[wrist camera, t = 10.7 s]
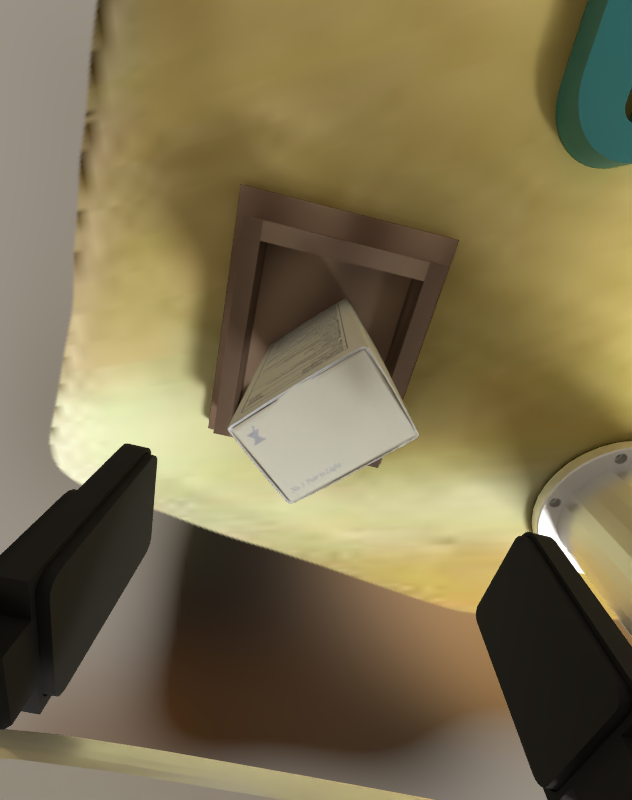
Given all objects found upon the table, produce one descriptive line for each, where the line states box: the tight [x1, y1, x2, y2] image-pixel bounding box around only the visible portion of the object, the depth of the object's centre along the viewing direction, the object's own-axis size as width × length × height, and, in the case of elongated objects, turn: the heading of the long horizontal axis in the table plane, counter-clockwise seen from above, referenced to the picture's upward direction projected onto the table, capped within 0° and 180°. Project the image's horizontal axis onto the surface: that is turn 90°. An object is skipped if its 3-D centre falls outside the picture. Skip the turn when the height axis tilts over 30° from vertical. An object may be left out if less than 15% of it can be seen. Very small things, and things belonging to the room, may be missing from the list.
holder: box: [208, 184, 459, 468], centre depth 25 cm, size 13×16×4 cm
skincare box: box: [227, 299, 419, 504], centre depth 20 cm, size 6×4×12 cm
